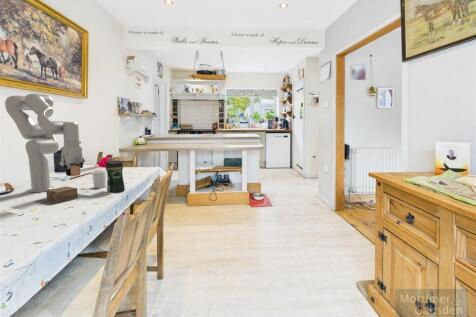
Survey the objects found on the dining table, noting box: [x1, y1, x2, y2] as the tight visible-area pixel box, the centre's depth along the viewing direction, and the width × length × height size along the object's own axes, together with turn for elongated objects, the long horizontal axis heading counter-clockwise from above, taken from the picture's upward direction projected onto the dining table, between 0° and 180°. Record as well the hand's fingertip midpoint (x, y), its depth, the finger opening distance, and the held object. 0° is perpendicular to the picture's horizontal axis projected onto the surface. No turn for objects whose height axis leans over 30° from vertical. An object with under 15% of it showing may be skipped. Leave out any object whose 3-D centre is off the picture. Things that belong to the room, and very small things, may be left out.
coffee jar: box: [105, 160, 125, 194], centre depth 166 cm, size 10×8×19 cm
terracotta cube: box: [69, 165, 81, 177], centre depth 161 cm, size 5×5×5 cm
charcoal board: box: [33, 193, 89, 206], centre depth 145 cm, size 16×20×2 cm
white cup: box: [91, 170, 107, 189], centre depth 179 cm, size 8×8×10 cm
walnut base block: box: [45, 186, 79, 202], centre depth 145 cm, size 10×10×5 cm
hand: (73, 174), depth 161 cm, fingers closed on terracotta cube, 5 cm apart
